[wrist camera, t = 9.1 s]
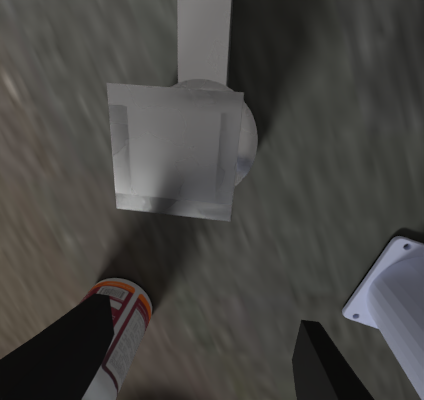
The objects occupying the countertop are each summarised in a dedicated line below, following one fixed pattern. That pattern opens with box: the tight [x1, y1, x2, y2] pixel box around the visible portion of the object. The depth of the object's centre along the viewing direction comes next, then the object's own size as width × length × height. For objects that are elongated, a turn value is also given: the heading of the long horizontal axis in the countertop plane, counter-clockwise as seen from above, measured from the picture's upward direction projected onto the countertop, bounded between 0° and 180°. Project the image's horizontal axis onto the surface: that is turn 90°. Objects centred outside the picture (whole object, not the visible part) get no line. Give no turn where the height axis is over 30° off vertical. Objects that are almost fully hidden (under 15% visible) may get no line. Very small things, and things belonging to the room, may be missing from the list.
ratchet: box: [171, 0, 258, 186], centre depth 13 cm, size 19×7×5 cm, turn 178°
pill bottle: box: [78, 278, 152, 400], centre depth 18 cm, size 6×6×11 cm
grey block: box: [107, 83, 244, 221], centre depth 12 cm, size 5×5×6 cm
